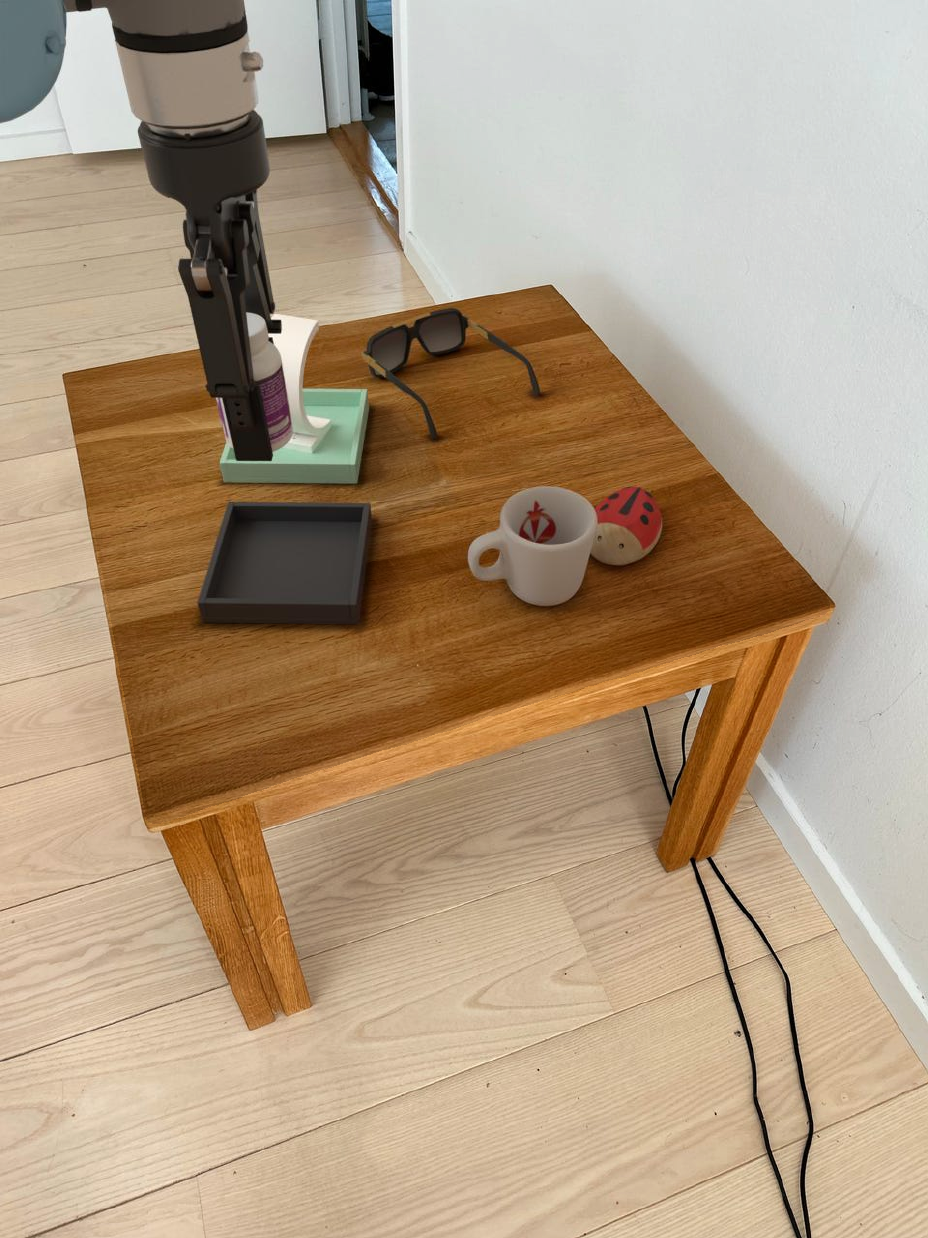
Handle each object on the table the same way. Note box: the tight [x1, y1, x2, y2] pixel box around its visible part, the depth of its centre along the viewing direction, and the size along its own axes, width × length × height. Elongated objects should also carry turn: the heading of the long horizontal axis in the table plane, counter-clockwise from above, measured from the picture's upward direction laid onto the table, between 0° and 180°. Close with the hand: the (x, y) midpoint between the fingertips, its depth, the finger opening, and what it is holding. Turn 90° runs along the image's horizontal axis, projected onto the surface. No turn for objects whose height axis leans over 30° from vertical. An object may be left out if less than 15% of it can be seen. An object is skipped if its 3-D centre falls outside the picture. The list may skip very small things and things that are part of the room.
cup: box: [467, 485, 597, 607], centre depth 78 cm, size 11×8×8 cm
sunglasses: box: [360, 307, 541, 440], centre depth 101 cm, size 14×15×5 cm
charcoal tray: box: [196, 501, 373, 625], centre depth 82 cm, size 13×13×2 cm
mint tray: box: [219, 388, 370, 485], centre depth 95 cm, size 13×13×2 cm
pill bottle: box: [215, 312, 293, 452], centre depth 70 cm, size 5×5×10 cm
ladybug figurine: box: [590, 486, 664, 566], centre depth 85 cm, size 7×10×4 cm
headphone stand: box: [268, 313, 332, 453], centre depth 91 cm, size 5×6×12 cm
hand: (261, 434), depth 73 cm, fingers closed on pill bottle, 5 cm apart
